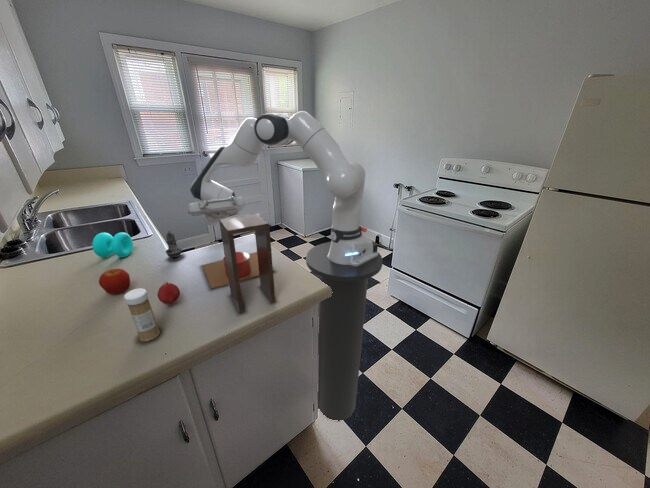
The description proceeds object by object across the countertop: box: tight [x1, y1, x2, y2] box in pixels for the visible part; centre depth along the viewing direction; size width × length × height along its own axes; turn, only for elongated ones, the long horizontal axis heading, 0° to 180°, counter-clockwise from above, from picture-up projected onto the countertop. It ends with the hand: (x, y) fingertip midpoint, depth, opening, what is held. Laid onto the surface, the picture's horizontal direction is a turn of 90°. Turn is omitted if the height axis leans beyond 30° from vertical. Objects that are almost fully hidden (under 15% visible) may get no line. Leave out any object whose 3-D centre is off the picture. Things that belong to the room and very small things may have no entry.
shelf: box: [219, 212, 276, 314], centre depth 80 cm, size 11×10×26 cm
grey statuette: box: [165, 230, 184, 262], centre depth 106 cm, size 6×6×12 cm
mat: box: [201, 252, 275, 290], centre depth 101 cm, size 22×18×1 cm
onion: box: [156, 281, 181, 306], centre depth 80 cm, size 6×6×8 cm
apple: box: [98, 268, 131, 295], centre depth 86 cm, size 8×8×8 cm
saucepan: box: [222, 251, 251, 278], centre depth 102 cm, size 9×22×6 cm, turn 31°
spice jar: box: [123, 287, 161, 342], centre depth 67 cm, size 5×5×13 cm
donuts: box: [91, 231, 134, 258], centre depth 107 cm, size 10×10×10 cm
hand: (219, 200), depth 97 cm, fingers open, 8 cm apart
